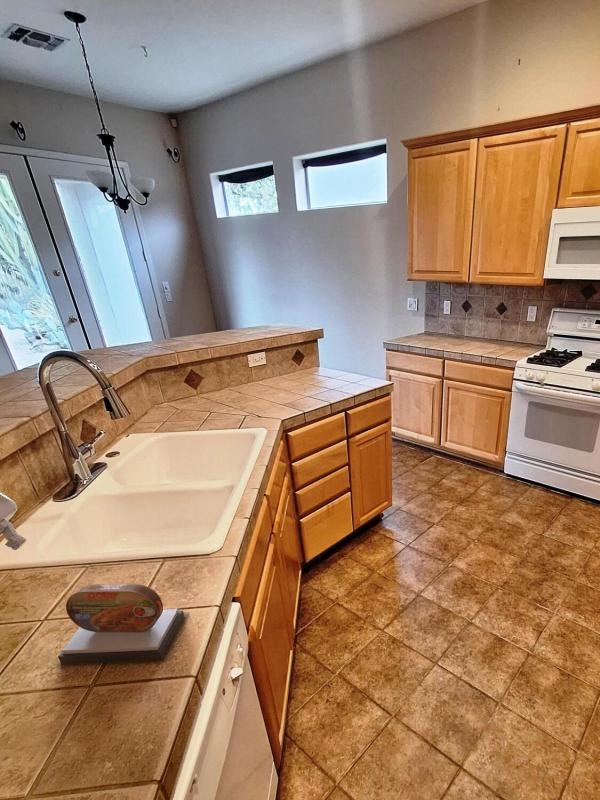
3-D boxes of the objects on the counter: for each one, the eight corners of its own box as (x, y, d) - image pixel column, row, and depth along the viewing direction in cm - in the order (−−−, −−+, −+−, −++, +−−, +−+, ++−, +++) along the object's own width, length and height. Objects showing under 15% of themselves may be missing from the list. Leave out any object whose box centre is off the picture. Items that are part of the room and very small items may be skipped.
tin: (73, 632, 73) (56, 593, 69) (85, 619, 76) (70, 581, 72) (161, 632, 73) (150, 594, 70) (170, 619, 76) (159, 581, 72)
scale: (62, 666, 70) (56, 653, 69) (96, 622, 79) (91, 609, 78) (162, 661, 72) (158, 648, 70) (185, 618, 81) (182, 606, 79)
